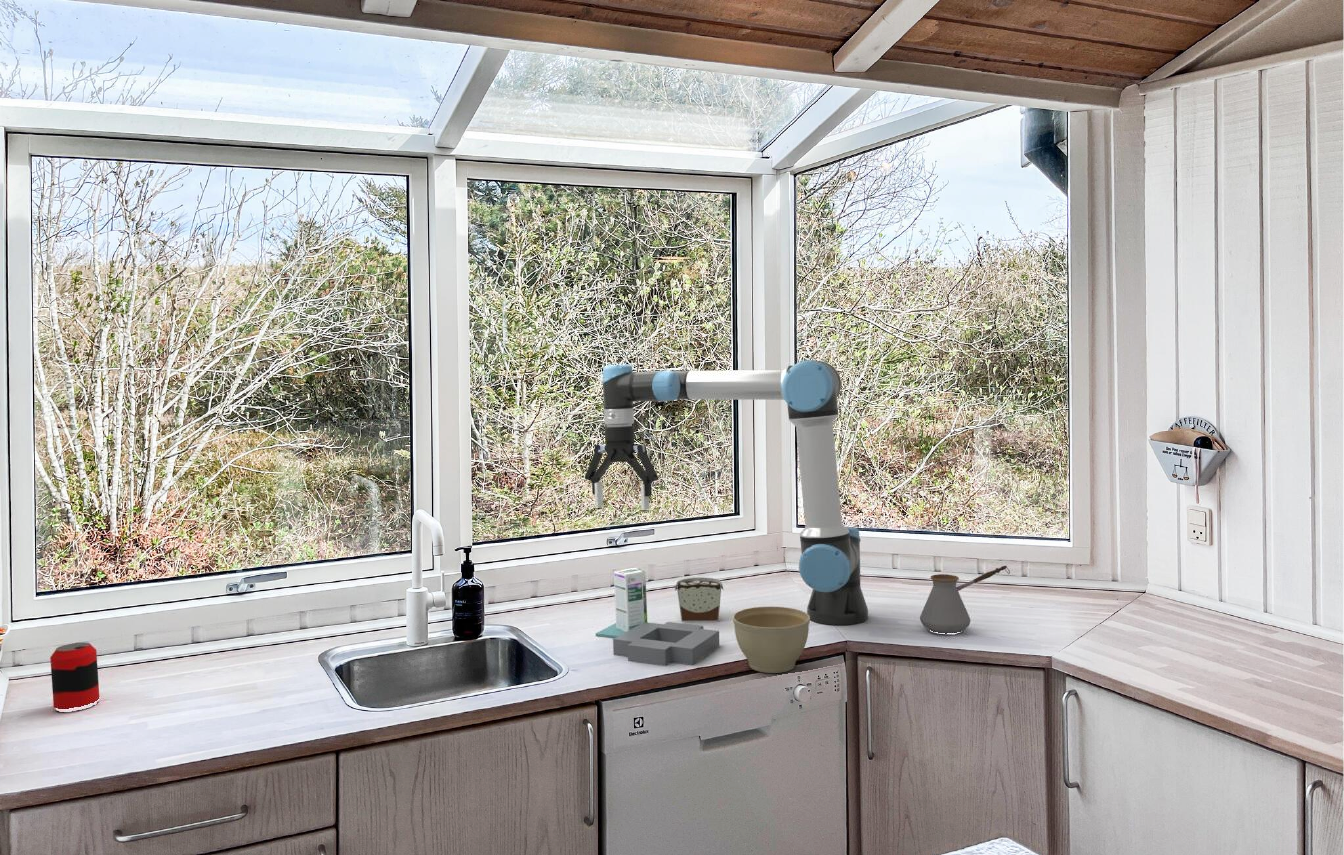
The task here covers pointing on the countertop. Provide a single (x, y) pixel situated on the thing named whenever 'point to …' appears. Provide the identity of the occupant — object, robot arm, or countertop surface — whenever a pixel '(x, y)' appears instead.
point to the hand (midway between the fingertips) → (622, 508)
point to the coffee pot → (948, 604)
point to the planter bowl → (771, 637)
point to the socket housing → (666, 643)
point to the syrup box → (630, 598)
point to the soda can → (74, 675)
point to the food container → (699, 599)
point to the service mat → (611, 631)
